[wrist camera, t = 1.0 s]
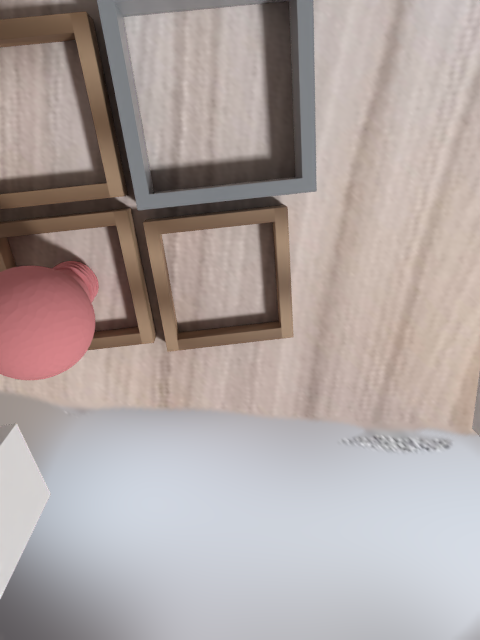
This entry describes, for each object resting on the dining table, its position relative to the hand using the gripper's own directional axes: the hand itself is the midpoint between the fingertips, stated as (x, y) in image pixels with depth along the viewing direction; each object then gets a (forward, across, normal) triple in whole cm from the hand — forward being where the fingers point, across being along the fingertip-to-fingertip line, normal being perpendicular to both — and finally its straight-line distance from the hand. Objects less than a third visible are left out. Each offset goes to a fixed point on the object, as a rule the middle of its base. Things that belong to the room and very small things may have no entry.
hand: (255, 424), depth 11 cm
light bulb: (+22, -13, -1) cm, 26 cm away
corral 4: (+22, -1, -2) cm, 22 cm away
